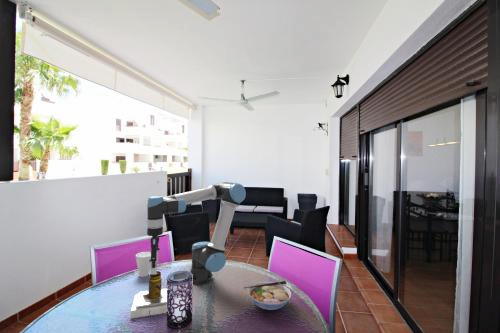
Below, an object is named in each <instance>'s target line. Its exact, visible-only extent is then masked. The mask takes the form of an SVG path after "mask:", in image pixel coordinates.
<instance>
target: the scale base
mask: <svg viewBox="0 0 500 333" xmlns="http://www.w3.org/2000/svg"><path fill="white" fill-rule="evenodd" d="M138 296H139V293H135V295H134V297H133V298H134V299H133V301H132V304H131V309H130V319H136V318H143V317H149V316H150V315H151V316H156V315H157V314H158V315H163V314H162V313H164V314H167V313H166V312H167V304H160V305H153V306H145V307H138V308H136V304H137V300H138Z"/></svg>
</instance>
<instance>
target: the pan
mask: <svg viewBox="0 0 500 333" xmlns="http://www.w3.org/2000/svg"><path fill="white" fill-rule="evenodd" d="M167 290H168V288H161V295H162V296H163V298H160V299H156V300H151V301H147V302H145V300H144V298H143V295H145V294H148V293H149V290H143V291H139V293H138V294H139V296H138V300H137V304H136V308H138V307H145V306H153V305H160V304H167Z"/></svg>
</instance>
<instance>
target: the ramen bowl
mask: <svg viewBox="0 0 500 333" xmlns="http://www.w3.org/2000/svg"><path fill="white" fill-rule="evenodd" d="M287 284H288V283H287V282H286V280H283V281H282V280H281V281H276V282H274V281H260V282H256V283H254V284H252V285H250V286H245V287H243V289H248V290H247V292H248V294H247V295H248V296H249V298H250V300H251V302H253V304H255V305H256V307H258V308H261V309H262V310H268V311H274V310H275V311H276V310H278V309H279V310H280V309H281V308H283V307H284V306H285V305H287V304H288V302H289V301H290V299H291V296H292V292H291V290H290V288H288V286H285V285H287Z"/></svg>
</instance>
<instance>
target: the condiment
mask: <svg viewBox="0 0 500 333" xmlns="http://www.w3.org/2000/svg"><path fill="white" fill-rule="evenodd" d="M161 289H162V272H161V271H160V270H157V274H152V275H151V272H149V279H148V291H149V293H148V294H145V295H143V298H144V300H145V302H147V301H151V300H156V299H160V298H163V296H162V295H161Z"/></svg>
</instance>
